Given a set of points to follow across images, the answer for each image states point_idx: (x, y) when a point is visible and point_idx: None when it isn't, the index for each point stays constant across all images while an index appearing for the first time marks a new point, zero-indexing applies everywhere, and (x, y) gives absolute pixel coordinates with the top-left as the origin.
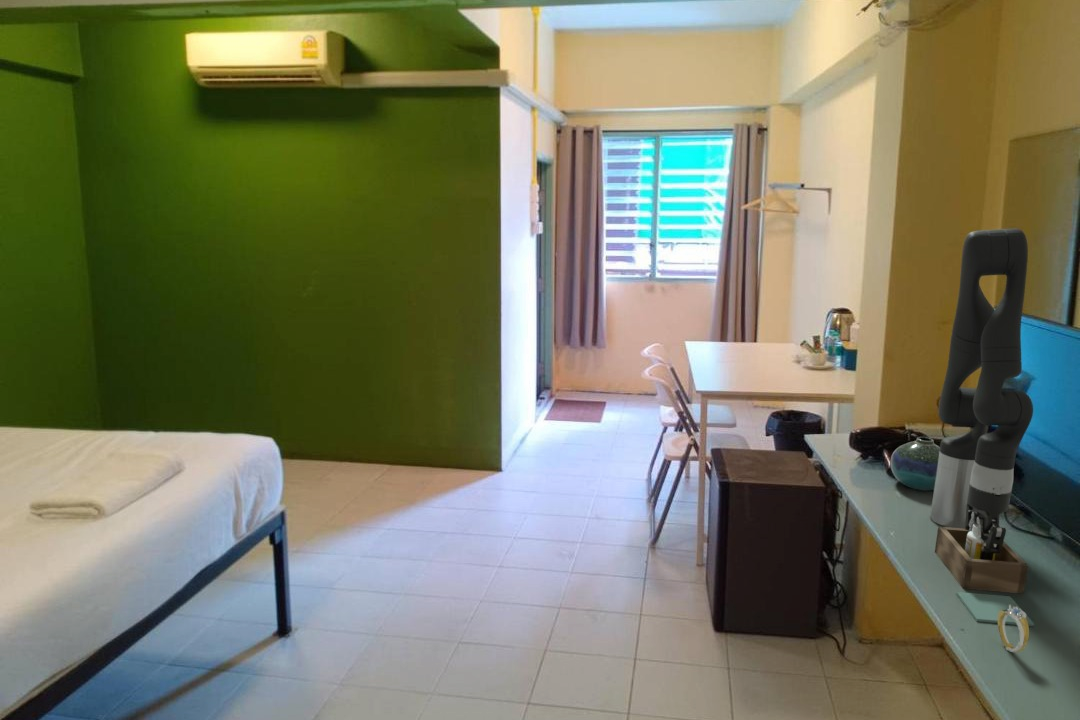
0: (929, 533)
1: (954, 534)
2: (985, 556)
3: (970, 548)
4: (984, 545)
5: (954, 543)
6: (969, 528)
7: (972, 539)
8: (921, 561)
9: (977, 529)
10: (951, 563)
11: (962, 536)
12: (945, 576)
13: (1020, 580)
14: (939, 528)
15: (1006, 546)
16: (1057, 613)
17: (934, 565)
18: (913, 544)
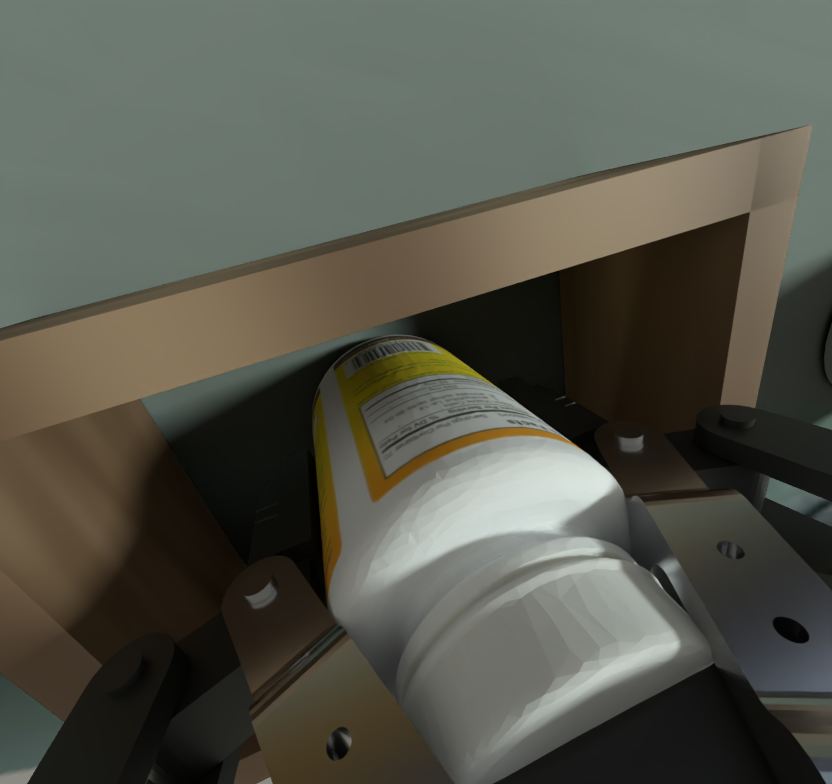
0: (802, 179)
1: (689, 299)
2: (249, 556)
3: (363, 436)
4: (236, 651)
5: (381, 269)
6: (687, 468)
7: (379, 515)
8: (395, 21)
9: (474, 715)
10: (303, 250)
11: (671, 360)
12: (192, 201)
13: None
14: (774, 134)
15: None
16: None
17: (364, 135)
18: (670, 19)
